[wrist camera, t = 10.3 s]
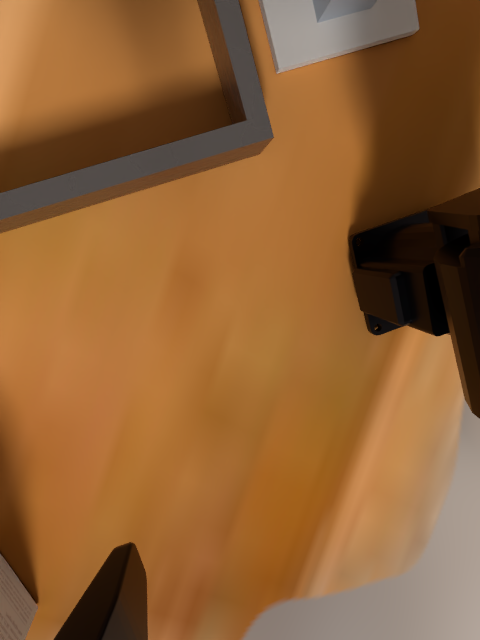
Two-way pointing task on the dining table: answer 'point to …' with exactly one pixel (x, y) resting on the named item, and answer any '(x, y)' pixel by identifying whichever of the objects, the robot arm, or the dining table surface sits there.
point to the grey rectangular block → (339, 8)
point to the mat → (331, 30)
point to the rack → (171, 158)
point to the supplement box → (14, 605)
